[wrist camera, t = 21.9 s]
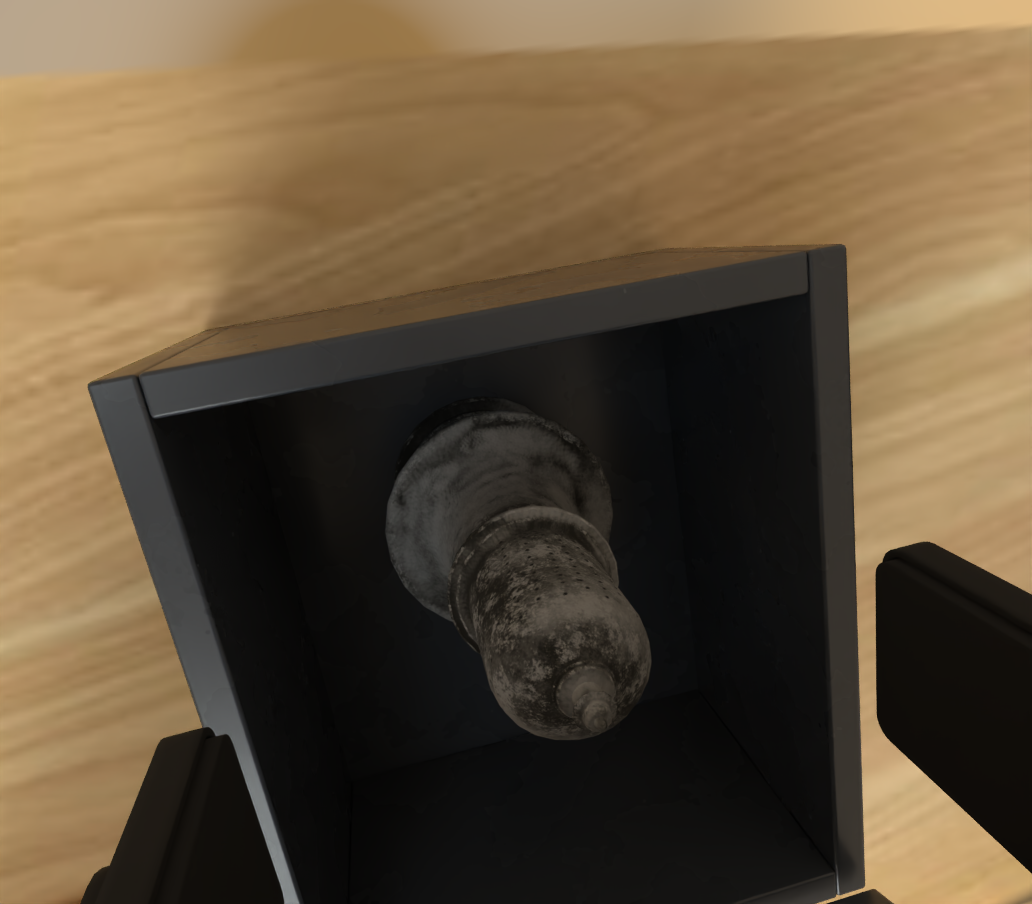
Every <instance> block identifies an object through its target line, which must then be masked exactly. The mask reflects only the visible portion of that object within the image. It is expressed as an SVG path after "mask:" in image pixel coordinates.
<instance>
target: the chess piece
mask: <svg viewBox="0 0 1032 904" xmlns="http://www.w3.org/2000/svg"><path fill="white" fill-rule="evenodd" d="M612 519H613V509H612V500H611V491H610V486H609V484H608V481H607V479H606V476H605V474H604V472H603V469H602V467H601V464H600V462H599V461H598V459H597V458H596V457H595V456H594V454H593V453H592V452H591V451H590V449H589V448H588V447H587V445H586V444H585V443H584V442H583V440H582V439H580V438H579V437H577V436H576V435H575V434H573V433H572V432H570V431H569V430H568V429H566V428H565V427H563V426H562V425H561V424H559V423H558V422H555V421H552V420H550V419H547V418H544V417H541V416H538V415H536V414H535V413H534V412H532V411H531V410H529V409H528V408H527V407H525V406H523V405H520V404H518V403H515V402H512V401H509V400H507V399H504V398H493V397H481V396H480V397H474V398H468V399H463V400H457V401H455V402H453V403H451V404H448V405H446V406H444V407H442V408H440V409H438V410H435V411H434V412H433V413H432V414H430V415H429V416H428V417H427V418H426V419H424V420H423V421H422V422H421V423H420V424H418V425H417V426H416V428H415V429H414V430H413V432H412V433H411V435H410V436H409V437H408V439H407V440H406V442H405V443H404V444H403V447H402V449H401V452H400V455H399V457H398V460H397V463H396V466H395V474H394V487H393V489H392V492H391V495H390V498H389V500H388V504H387V517H386V529H385V534H386V539H387V544H388V548H389V553H390V558H391V562H392V564H393V566H394V568H395V570H396V571H397V573H398V575H399V577H400V579H401V581H402V583H403V585H404V586H405V587H406V588H407V589H408V590H409V591H410V593H411V594H412V595H413V596H414V597H415V598H416V599H417V600H418V601H419V602H420V603H421V604H422V605H423V606H424V607H426V608H428V609H429V610H431V611H433V612H435V613H436V614H438V615H440V616H442V617H443V618H445V619H447V620H449V621H452V622H453V623H454V625H455V626H456V628H457V630H458V632H459V634H460V636H461V637H462V638H463V639H464V640H465V641H466V642H467V643H468V644H469V645H470V646H471V647H472V648H473V649H474V650H475V651H476V652H477V653H479V654H481V656H482V660H483V664H484V667H485V671H486V675H487V678H488V682H489V685H490V688H491V690H492V692H493V694H494V696H495V698H496V700H497V701H498V703H499V705H500V706H501V708H502V709H503V710H504V712H505V713H506V714H507V715H508V716H509V717H510V718H511V719H512V720H513V721H514V722H515V723H516V724H517V725H518V726H520V727H521V728H523V729H525V730H527V731H529V732H530V733H532V734H534V735H537V736H541V737H545V738H549V739H553V740H581V739H585V738H589V737H593V736H597V735H599V734H601V733H603V732H605V731H607V730H609V729H611V728H613V727H614V726H615V725H616V724H618V723H619V722H620V721H621V720H623V719H624V718H625V717H626V716H627V715H628V714H629V712H630V711H631V710H632V709H633V707H634V706H635V705H636V704H637V702H638V701H639V699H640V697H641V695H642V693H643V691H644V689H645V686H646V684H647V682H648V679H649V673H650V667H651V652H650V644H649V640H648V636H647V633H646V630H645V628H644V626H643V623H642V621H641V619H640V616H639V615H638V613H637V612H636V611H635V609H634V608H633V607H632V605H631V604H630V603H629V601H628V600H627V599H626V597H625V596H624V595H623V593H622V592H621V591H620V589H619V588H618V585H619V580H618V572H617V563H616V560H615V558H614V555H613V553H612V551H611V548H610V546H609V539H610V532H611V526H612Z"/></svg>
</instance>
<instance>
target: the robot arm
mask: <svg viewBox="0 0 1032 904" xmlns="http://www.w3.org/2000/svg"><path fill="white" fill-rule="evenodd" d="M876 694H877V719H878V722H879V725H880V727H881V729H882V731H883V733H884V734H885V736H886V737H887V738H888V739H889V740H890V741H891V742H892V743H893V744H894V745H895V746H896V747H897V748H898V749H899V750H900V751H901V752H902V753H903V754H904V755H906V756H907V757H908V758H909V759H910V760H911V761H912V762H913V763H914V764H915V765H916V766H917V767H918V768H919V769H921V770H922V771H923V772H924V773H925V774H926V775H927V776H928V777H929V778H930V779H931V780H932V781H933V782H934V783H935V784H937V785H938V786H939V787H940V788H941V789H942V790H943V791H944V792H945V793H946V794H947V795H948V796H949V797H950V798H952V799H953V800H954V801H955V802H956V803H957V804H958V805H959V806H960V807H961V808H962V809H963V810H964V811H965V812H967V813H968V814H969V815H970V816H971V817H972V818H973V819H974V820H975V821H976V822H977V823H978V824H979V825H980V826H981V827H983V828H984V829H985V830H986V831H987V832H988V833H989V834H990V835H991V836H992V837H993V838H994V839H995V840H996V841H998V842H999V843H1000V844H1001V845H1002V846H1003V847H1004V848H1005V849H1006V850H1007V851H1008V852H1009V853H1010V854H1011V855H1013V856H1014V857H1015V858H1016V859H1017V860H1018V861H1019V862H1020V863H1021V864H1022V865H1023V866H1024V867H1025V868H1026V869H1028V870H1029V871H1030V872H1031V873H1032V595H1031V594H1030V593H1028V592H1026V591H1024V590H1022V589H1020V588H1018V587H1016V586H1014V585H1012V584H1010V583H1008V582H1007V581H1005V580H1003V579H1001V578H999V577H997V576H995V575H993V574H991V573H989V572H987V571H985V570H984V569H982V568H980V567H978V566H976V565H974V564H972V563H970V562H968V561H966V560H964V559H962V558H961V557H959V556H957V555H955V554H953V553H951V552H949V551H947V550H945V549H943V548H941V547H939V546H937V545H936V544H933V543H930V542H920V543H916V544H912V545H909V546H905V547H901V548H897V549H893V550H890V551H888V552H887V553H886V554H885V556H884V558H883V563H880V564H879V565H878V567H877V569H876ZM80 904H284V897H283V892H282V889H281V885H280V882H279V879H278V876H277V874H276V871H275V868H274V865H273V862H272V859H271V856H270V853H269V850H268V847H267V844H266V841H265V838H264V835H263V832H262V829H261V826H260V823H259V820H258V817H257V814H256V811H255V808H254V805H253V802H252V799H251V796H250V793H249V790H248V787H247V784H246V781H245V778H244V775H243V772H242V769H241V766H240V763H239V760H238V757H237V754H236V751H235V748H234V745H233V743H232V740H231V738H230V737H229V735H227V734H223V735H219V736H216V735H215V733H214V731H213V730H212V729H211V728H210V727H204V728H201V729H197V730H193V731H189V732H185V733H181V734H177V735H173V736H170V737H166V738H163V739H161V740H160V742H159V744H158V746H157V748H156V751H155V753H154V756H153V758H152V761H151V763H150V766H149V768H148V771H147V773H146V776H145V778H144V781H143V783H142V786H141V788H140V791H139V793H138V796H137V798H136V801H135V804H134V806H133V809H132V811H131V814H130V816H129V819H128V821H127V824H126V826H125V829H124V831H123V834H122V836H121V839H120V841H119V844H118V846H117V849H116V851H115V854H114V856H113V859H112V861H111V864H110V866H107V867H104V868H101V869H100V870H99V871H98V872H97V873H95V874H94V876H93V878H92V879H91V881H90V883H89V885H88V886H87V889H86V891H85V894H84V896H83V898H82V901H81V903H80Z"/></svg>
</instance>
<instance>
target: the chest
mask: <svg viewBox="0 0 1032 904" xmlns="http://www.w3.org/2000/svg"><path fill="white" fill-rule="evenodd" d="M88 390H89V393H90V396H91V399H92V402H93V405H94V408H95V411H96V414H97V417H98V420H99V423H100V426H101V429H102V432H103V435H104V438H105V441H106V444H107V446H108V449H109V452H110V455H111V458H112V461H113V464H114V467H115V470H116V473H117V476H118V479H119V482H120V485H121V488H122V491H123V494H124V497H125V500H126V503H127V506H128V508H129V511H130V514H131V517H132V520H133V523H134V526H135V529H136V532H137V535H138V538H139V541H140V544H141V547H142V550H143V553H144V556H145V559H146V562H147V565H148V568H149V571H150V573H151V576H152V579H153V582H154V585H155V588H156V591H157V594H158V597H159V600H160V603H161V606H162V609H163V612H164V615H165V618H166V621H167V624H168V627H169V630H170V633H171V635H172V638H173V641H174V644H175V647H176V650H177V653H178V656H179V659H180V662H181V665H182V668H183V671H184V674H185V677H186V680H187V683H188V686H189V689H190V692H191V695H192V698H193V700H194V703H195V706H196V709H197V712H198V715H199V718H200V721H201V724H202V727H203V728H204V727H210V728H211V729H212V730H213V731H214V733H215V735H216V736H219V735H223V734H227V735H229V737H230V738H231V740H232V743H233V745H234V748H235V751H236V754H237V757H238V760H239V763H240V766H241V769H242V772H243V775H244V778H245V781H246V784H247V787H248V790H249V793H250V796H251V799H252V802H253V805H254V808H255V811H256V814H257V817H258V820H259V823H260V826H261V829H262V832H263V835H264V838H265V841H266V844H267V847H268V850H269V853H270V856H271V859H272V862H273V865H274V868H275V871H276V874H277V876H278V879H279V882H280V885H281V889H282V892H283V897H284V904H816V903H819V902H822V901H825V900H828V899H831V898H835V897H836V894H837V895H842V894H846V893H849V892H852V891H855V890H858V889H861V888H863V887H864V886H865V867H864V833H863V799H862V766H861V732H860V698H859V664H858V630H857V596H856V563H855V529H854V495H853V461H852V427H851V394H850V360H849V326H848V292H847V258H846V247H845V245H842V244H824V245H784V246H744V247H704V248H665V249H659V250H654V251H648V252H643V253H637V254H631V255H626V256H620V257H615V258H609V259H603V260H598V261H592V262H586V263H581V264H575V265H570V266H564V267H558V268H553V269H547V270H541V271H536V272H530V273H525V274H519V275H513V276H508V277H502V278H496V279H491V280H485V281H480V282H474V283H468V284H463V285H457V286H451V287H446V288H440V289H435V290H429V291H423V292H418V293H412V294H407V295H401V296H395V297H390V298H384V299H378V300H373V301H367V302H362V303H356V304H350V305H345V306H339V307H333V308H328V309H322V310H317V311H311V312H305V313H300V314H294V315H288V316H283V317H277V318H272V319H266V320H260V321H255V322H249V323H244V324H238V325H232V326H227V327H221V328H215V329H210V330H205V331H203V332H201V333H199V334H196V335H194V336H192V337H190V338H187V339H185V340H183V341H181V342H179V343H176V344H174V345H172V346H170V347H167V348H165V349H163V350H161V351H159V352H156V353H154V354H152V355H150V356H147V357H145V358H143V359H141V360H138V361H136V362H134V363H132V364H130V365H127V366H125V367H123V368H121V369H118V370H116V371H114V372H112V373H109V374H107V375H105V376H103V377H101V378H98V379H96V380H94V381H92V382H90V383H89V384H88ZM480 396H481V397H493V398H504V399H507V400H509V401H512V402H515V403H518V404H520V405H523V406H525V407H527V408H528V409H529V410H531V411H532V412H534V413H535V414H536V415H538V416H541V417H544V418H547V419H550V420H552V421H555V422H558V423H559V424H561V425H562V426H563V427H565V428H566V429H568V430H569V431H570V432H572V433H573V434H575V435H576V436H577V437H579V438H580V439H582V440H583V442H584V443H585V444H586V445H587V447H588V448H589V449H590V451H591V452H592V453H593V454H594V456H595V457H596V458H597V459H598V461H599V462H600V464H601V467H602V469H603V472H604V474H605V476H606V479H607V481H608V484H609V486H610V491H611V500H612V509H613V519H612V526H611V532H610V539H609V546H610V548H611V551H612V553H613V555H614V558H615V560H616V563H617V572H618V580H619V585H618V588H619V589H620V591H621V592H622V593H623V595H624V596H625V597H626V599H627V600H628V601H629V603H630V604H631V605H632V607H633V608H634V609H635V611H636V612H637V613H638V615H639V616H640V619H641V621H642V623H643V626H644V628H645V630H646V633H647V636H648V640H649V644H650V652H651V667H650V673H649V679H648V682H647V684H646V686H645V689H644V691H643V693H642V695H641V697H640V699H639V701H638V702H637V704H636V705H635V706H634V707H633V709H632V710H631V711H630V712H629V714H628V715H627V716H626V717H625V718H624V719H623V720H621V721H620V722H619V723H618V724H616V725H615V726H614V727H613V728H611V729H609V730H607V731H605V732H603V733H601V734H599V735H597V736H593V737H589V738H585V739H581V740H553V739H549V738H545V737H541V736H537V735H534V734H532V733H530V732H529V731H527V730H525V729H523V728H521V727H520V726H518V725H517V724H516V723H515V722H514V721H513V720H512V719H511V718H510V717H509V716H508V715H507V714H506V713H505V712H504V710H503V709H502V708H501V706H500V705H499V703H498V701H497V700H496V698H495V696H494V694H493V692H492V690H491V688H490V685H489V682H488V678H487V675H486V671H485V667H484V664H483V660H482V656H481V654H479V653H477V652H476V651H475V650H474V649H473V648H472V647H471V646H470V645H469V644H468V643H467V642H466V641H465V640H464V639H463V638H462V637H461V636H460V634H459V632H458V630H457V628H456V626H455V625H454V623H453V622H452V621H449V620H447V619H445V618H443V617H442V616H440V615H438V614H436V613H435V612H433V611H431V610H429V609H428V608H426V607H424V606H423V605H422V604H421V603H420V602H419V601H418V600H417V599H416V598H415V597H414V596H413V595H412V594H411V593H410V591H409V590H408V589H407V588H406V587H405V586H404V585H403V583H402V581H401V579H400V577H399V575H398V573H397V571H396V570H395V568H394V566H393V564H392V562H391V558H390V553H389V548H388V544H387V539H386V534H385V529H386V517H387V504H388V500H389V498H390V495H391V492H392V489H393V487H394V474H395V466H396V463H397V460H398V457H399V455H400V452H401V449H402V447H403V444H404V443H405V442H406V440H407V439H408V437H409V436H410V435H411V433H412V432H413V430H414V429H415V428H416V426H417V425H418V424H420V423H421V422H422V421H423V420H424V419H426V418H427V417H428V416H429V415H430V414H432V413H433V412H434V411H435V410H438V409H440V408H442V407H444V406H446V405H448V404H451V403H453V402H455V401H457V400H463V399H468V398H474V397H480Z"/></svg>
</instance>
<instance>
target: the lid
mask: <svg viewBox="0 0 1032 904" xmlns="http://www.w3.org/2000/svg"><path fill="white" fill-rule="evenodd" d="M827 904H894V903H892V902H891V901H890V900H888V899H887V898H886V897H885V896H883V895H882V894H881V893H879V892H878V891H877V890H876V889H871V890H868V891H865V892H862V893H859V894H856V895H852V896H849V897H846V898H843V899H840V900H837V901H834V902H830V903H827Z"/></svg>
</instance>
